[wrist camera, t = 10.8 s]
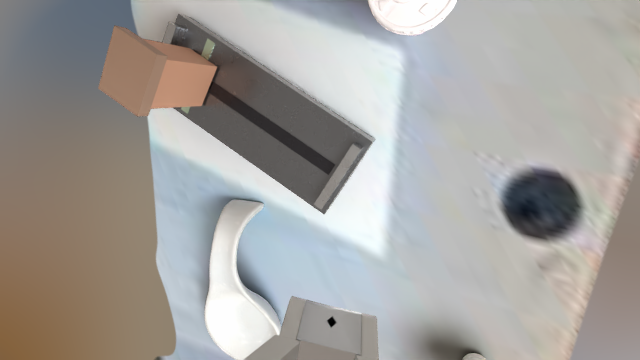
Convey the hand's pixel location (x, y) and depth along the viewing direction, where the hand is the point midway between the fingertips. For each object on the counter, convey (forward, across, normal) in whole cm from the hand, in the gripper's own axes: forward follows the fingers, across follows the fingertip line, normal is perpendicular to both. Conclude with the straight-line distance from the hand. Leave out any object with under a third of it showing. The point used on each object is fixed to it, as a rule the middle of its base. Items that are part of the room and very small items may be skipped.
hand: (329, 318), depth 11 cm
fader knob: (+27, +19, -2) cm, 33 cm away
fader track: (+28, +11, +1) cm, 30 cm away
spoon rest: (+25, +10, +24) cm, 36 cm away
